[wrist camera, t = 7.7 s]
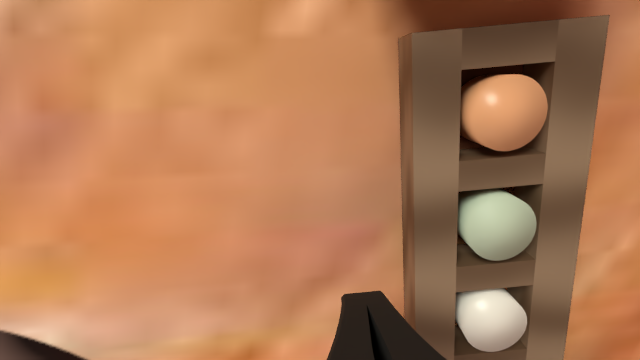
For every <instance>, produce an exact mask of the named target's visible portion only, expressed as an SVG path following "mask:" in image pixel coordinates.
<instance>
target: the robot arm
mask: <svg viewBox="0 0 640 360" xmlns="http://www.w3.org/2000/svg"><path fill="white" fill-rule="evenodd" d="M341 300H342V307H341V314H340V319H339V324H338V327H337V331H336V335H335V338H334V341H333V344H332V347H331V350H330V353H329V356H328V358H327V360H447V359H446V358H444V357H443V356H442V355H441V354H440V353H438V352H437V351H436V350H435V349H434V348H433V347H432V346H431V345H430V344H429V343H428V342H426V341H425V340H424V339H423V338H422V337H421V336H420V335H419V334H418V333H417V332H416V331H415V330H414V329H413V328H412V327H411V326H410V324H409V323H408V322H407V321H406V320H405V319H404V318H403V317H402V316H401V315H400V314H399V312H398V311H397V310H396V309H395V308H394V306H393V305H392V304H391V303H390V302H389V300H388V299H387V298H386V296H385V295H384V294H383V293H382V292H381V291H373V292H362V293H352V294H344V295H343V296H342V297H341Z"/></svg>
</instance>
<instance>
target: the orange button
mask: <svg viewBox="0 0 640 360" xmlns="http://www.w3.org/2000/svg"><path fill="white" fill-rule="evenodd" d="M547 110H548V104H547V98H546V95H545V92H544V90H543V89H542V87H541V86H540V85H539V83H537V82H536V81H535V80H534V79H532V78H530V77H528V76H525V75H519V74H505V75H482V76H478V77H476V78H473V79H472V80H470V81H468V82H467V83H466V84H465V85H464V86H463V87H462V88H461V105H460V135H461V136H463V137H464V138H466V139H468V140H470V141H473V142H475V143H478V144H480V145H483V146H485V147H488V148H490V149H493V150H497V151H511V150H515V149H518V148H521V147H523V146H524V145H526V144H528V143H529V142H530V141H531V140H533V139H534V138H535V137H536V135H537V134H538V133H539V132H540V130H541V128H542V127H543V125H544V122H545V120H546V116H547Z"/></svg>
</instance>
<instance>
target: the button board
mask: <svg viewBox="0 0 640 360" xmlns="http://www.w3.org/2000/svg"><path fill="white" fill-rule="evenodd" d="M609 16H610V15H603V16H592V17H581V18H570V19H559V20H548V21H537V22H526V23H515V24H505V25H494V26H483V27H472V28H461V29H450V30H439V31H428V32H417V33H411V34H408V35H406V36H404V37H401V38H399V39H398V50H399V94H400V137H401V180H402V224H403V267H404V310H405V320H406V321H407V322H408V323H409V324H410V326H411V327H412V328H413V329H414V330H415V331H416V332H417V333H418V334H419V335H420V336H421V337H422V338H423V339H424V340H425V341H426V342H428V343H429V344H430V345H431V346H432V347H433V348H434V349H435V350H436V351H437V352H438V353H440V354H441V355H442V356H443V357H444V358H446V359H447V360H563V358H564V351H565V343H566V336H567V328H568V321H569V313H570V306H571V298H572V291H573V284H574V276H575V269H576V261H577V254H578V246H579V239H580V231H581V224H582V217H583V209H584V202H585V194H586V187H587V179H588V172H589V164H590V157H591V150H592V142H593V135H594V127H595V120H596V112H597V105H598V97H599V90H600V83H601V75H602V68H603V60H604V53H605V45H606V38H607V30H608V23H609ZM521 64H523V75H525V76H528V77H530V78H532V79H534V80H535V81H536V82H537V83H539V85H540V86H541V87H542V89H543V90H544V92H545V95H546V98H547V104H548V110H547V116H546V120H545V122H544V125H543V127H542V128H541V130H540V132H539V133H538V134H537V135H536V137H535V138H534V139H533V140H531V141H530V142H529V143H528V144H526V145H524V146H523V147H521V148H518V149H515V150H511V151H497V150H493V149H490V148H488V147H483V148H472V149H461V150H459V144H460V105H461V70H466V69H477V68H488V67H499V66H510V65H521ZM513 186H515V188H514V196H515V197H517V198H519V199H520V200H522V201H524V202H525V203H527V204H528V205H529V206H530V207H531V208H532V210H533V212H534V214H535V217H536V231H535V234H534V237H533V239H532V241H531V242H530V244H529V245H528V246H527V247H526V248H525V249H524V250H523V251H522V252H521V253H519V254H518V255H516V256H514V257H512V258H509V259H506V260H500V261H494V260H488V259H485V258H483V257H481V256H479V255H478V254H477V253H476V252H474V250H473V249H472V248H471V247H470V246H469V245H468V244H458V245H457V223H458V192H460V191H471V190H481V189H492V188H503V187H513ZM497 288H507V292H508V293H509V294H510V295H511V296H512V297H513V298H514V299H515V300H516V301H517V302H518V303H519V304H520V306H521V307H522V308H523V309H524V311H525V313H526V316H527V326H526V330H525V332H524V334H523V335H522V337H521V338H520V339H519V340H518V341H517V342H516V343H515V344H513V345H512V346H510V347H508V348H506V349H504V350H500V351H495V352H486V351H481V350H478V349H476V348H475V347H473V346H472V345H471V344H470V343H469V342H468V340H467V339H466V337H465V336H464V334H463V332H462V331H461V329H460V327H459V326H455V302H456V292H465V291H476V290H486V289H497Z"/></svg>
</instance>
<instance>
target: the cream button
mask: <svg viewBox="0 0 640 360" xmlns="http://www.w3.org/2000/svg"><path fill="white" fill-rule="evenodd" d="M455 321H456V322H457V324H458V326H459V327H460V329H461V331H462V332H463V334H464V336H465V337H466V339H467V340H468V342H469V343H470V344H471V345H472V346H473V347H475V348H476V349H478V350H481V351H486V352H495V351H500V350H504V349H506V348H508V347H510V346H512V345H513V344H515V343H516V342H517V341H518V340H519V339H520V338H521V337H522V335H523V334H524V332H525V330H526V326H527V316H526V313H525V311H524V309H523V308H522V307H521V306H520V304H519V303H518V302H517V301H516V300H515V299H514V298H513V297H512V296H511V295H510V294H509V293H508V292H507V290H506V289H505V288H497V289H486V290H476V291H465V292H456V302H455Z"/></svg>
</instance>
